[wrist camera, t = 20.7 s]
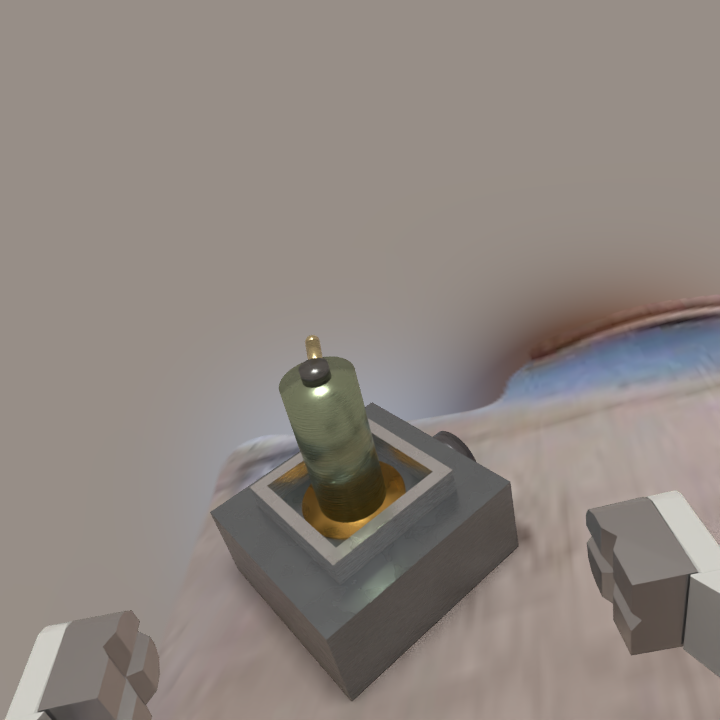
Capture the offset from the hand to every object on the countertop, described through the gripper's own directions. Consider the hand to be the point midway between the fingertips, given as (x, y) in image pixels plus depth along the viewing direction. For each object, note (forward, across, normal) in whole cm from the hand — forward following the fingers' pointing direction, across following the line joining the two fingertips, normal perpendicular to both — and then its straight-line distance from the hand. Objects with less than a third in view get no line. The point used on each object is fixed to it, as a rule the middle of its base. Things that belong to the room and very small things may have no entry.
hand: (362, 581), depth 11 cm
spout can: (+28, +4, +25) cm, 38 cm away
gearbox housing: (+28, +4, +32) cm, 43 cm away
